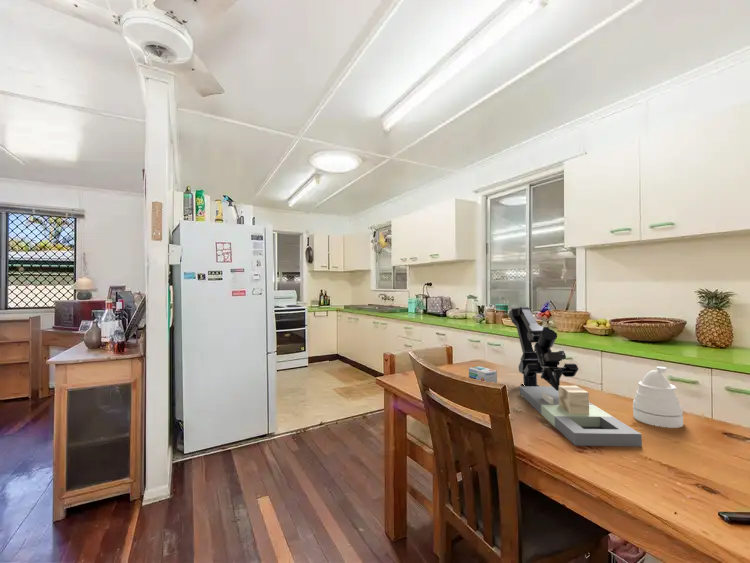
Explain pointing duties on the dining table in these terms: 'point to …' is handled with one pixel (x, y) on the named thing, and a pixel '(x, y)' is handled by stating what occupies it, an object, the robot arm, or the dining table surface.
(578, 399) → the maple block
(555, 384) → the robot arm
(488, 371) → the light bulb box
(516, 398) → the dining table surface
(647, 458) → the dining table surface
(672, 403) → the honey pot
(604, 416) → the platform
